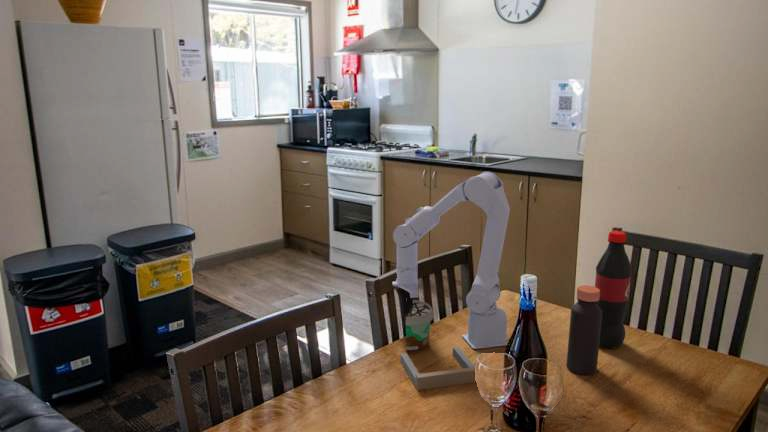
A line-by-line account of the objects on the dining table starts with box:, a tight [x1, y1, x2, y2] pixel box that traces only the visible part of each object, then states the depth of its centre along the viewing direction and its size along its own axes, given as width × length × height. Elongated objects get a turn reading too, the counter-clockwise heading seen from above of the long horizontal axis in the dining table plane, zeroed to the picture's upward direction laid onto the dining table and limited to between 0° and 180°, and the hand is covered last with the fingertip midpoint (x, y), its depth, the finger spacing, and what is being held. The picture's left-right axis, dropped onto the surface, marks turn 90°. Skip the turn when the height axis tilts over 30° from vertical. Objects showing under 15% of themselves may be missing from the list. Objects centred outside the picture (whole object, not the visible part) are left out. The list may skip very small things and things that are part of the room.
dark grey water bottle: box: [566, 284, 602, 376], centre depth 129 cm, size 7×7×20 cm
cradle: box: [399, 346, 476, 391], centre depth 129 cm, size 15×14×3 cm
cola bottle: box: [594, 230, 633, 349], centre depth 140 cm, size 8×8×30 cm
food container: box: [405, 299, 434, 354], centre depth 142 cm, size 12×6×10 cm, turn 168°
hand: (406, 312), depth 154 cm, fingers closed
